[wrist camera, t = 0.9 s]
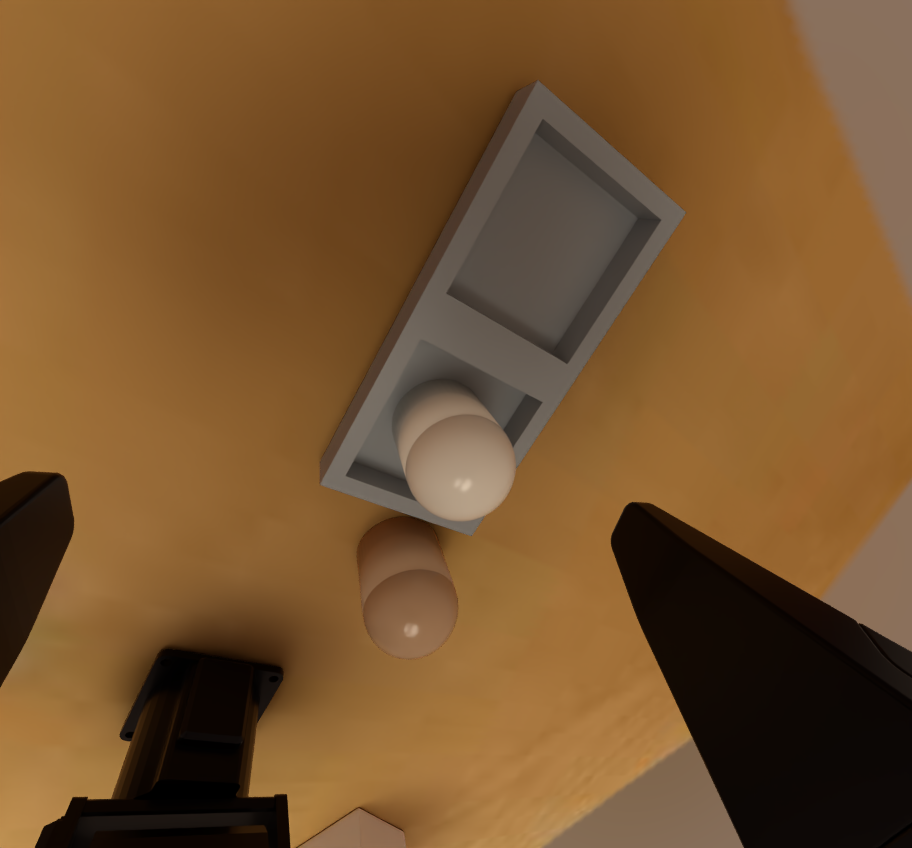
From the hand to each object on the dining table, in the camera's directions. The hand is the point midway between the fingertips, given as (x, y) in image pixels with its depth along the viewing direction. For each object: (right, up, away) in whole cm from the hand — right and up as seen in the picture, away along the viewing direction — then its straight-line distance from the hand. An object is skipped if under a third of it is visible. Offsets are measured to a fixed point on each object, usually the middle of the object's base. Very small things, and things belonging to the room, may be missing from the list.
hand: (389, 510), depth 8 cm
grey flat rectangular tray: (+2, +5, +14) cm, 15 cm away
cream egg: (0, +2, +15) cm, 15 cm away
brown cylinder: (-2, -5, +18) cm, 19 cm away
